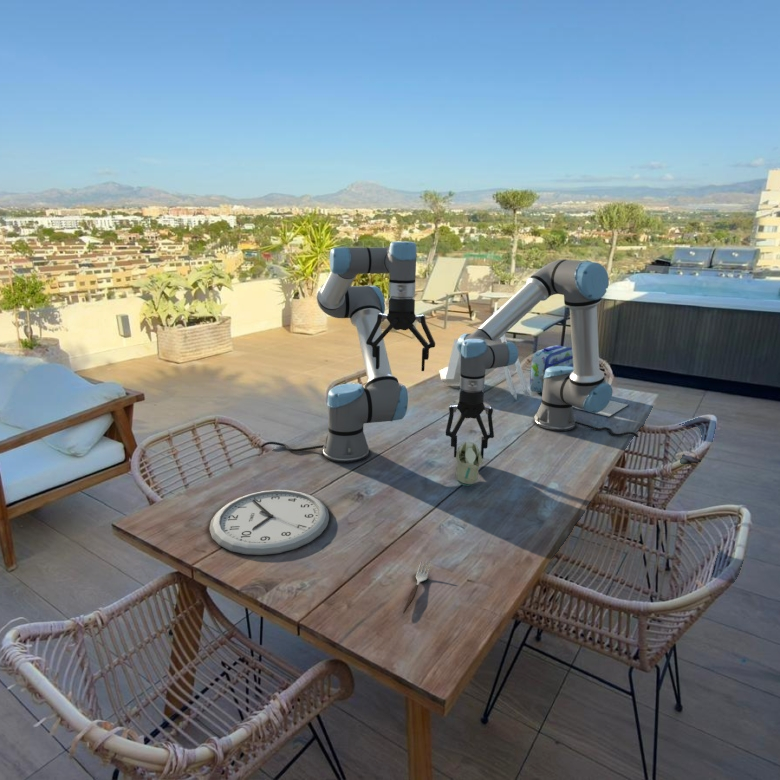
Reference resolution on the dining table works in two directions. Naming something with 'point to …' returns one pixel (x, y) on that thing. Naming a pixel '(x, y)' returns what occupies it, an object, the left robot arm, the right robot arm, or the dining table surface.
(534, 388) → the lunch box
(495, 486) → the dining table surface
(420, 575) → the fork
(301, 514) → the wall clock
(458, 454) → the ballet flat
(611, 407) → the invitation card
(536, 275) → the right robot arm
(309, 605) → the dining table surface
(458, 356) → the white plastic object
